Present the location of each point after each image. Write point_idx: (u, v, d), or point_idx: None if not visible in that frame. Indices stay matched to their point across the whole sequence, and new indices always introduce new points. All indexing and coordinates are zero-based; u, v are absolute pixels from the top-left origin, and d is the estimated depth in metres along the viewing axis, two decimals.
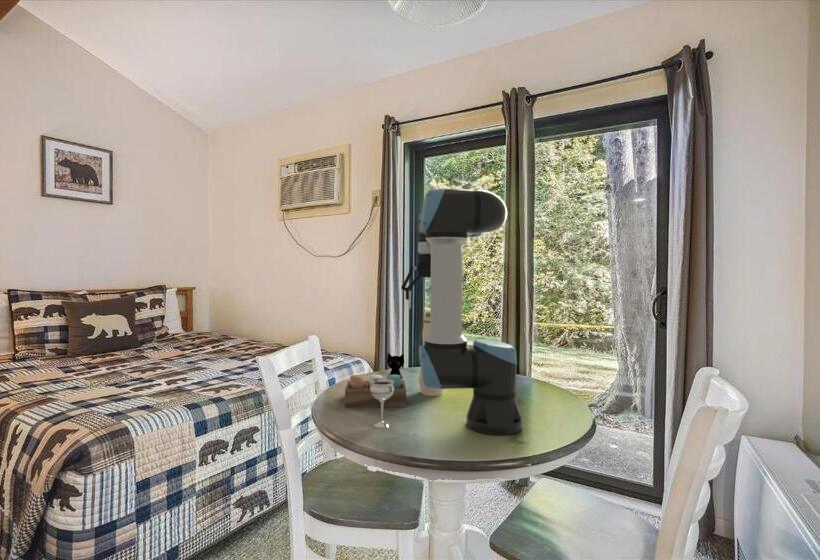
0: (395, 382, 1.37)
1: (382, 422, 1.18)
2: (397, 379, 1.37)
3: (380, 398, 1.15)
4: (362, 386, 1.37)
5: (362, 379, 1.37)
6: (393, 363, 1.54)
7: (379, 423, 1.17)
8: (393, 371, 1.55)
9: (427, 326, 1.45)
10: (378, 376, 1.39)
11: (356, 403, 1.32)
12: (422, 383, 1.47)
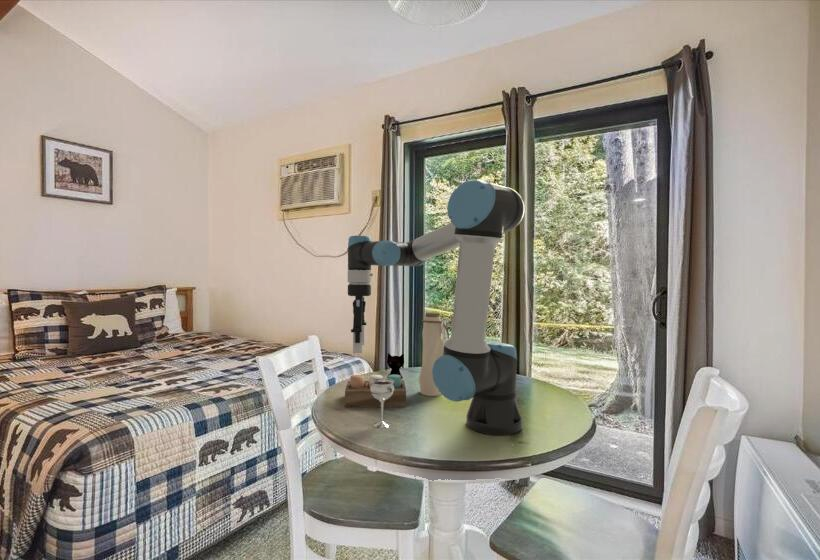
0: (395, 382, 1.37)
1: (382, 422, 1.18)
2: (397, 379, 1.37)
3: (380, 398, 1.15)
4: (362, 386, 1.37)
5: (362, 379, 1.37)
6: (393, 363, 1.54)
7: (379, 423, 1.17)
8: (393, 371, 1.55)
9: (427, 326, 1.45)
10: (378, 376, 1.39)
11: (356, 403, 1.32)
12: (422, 383, 1.47)
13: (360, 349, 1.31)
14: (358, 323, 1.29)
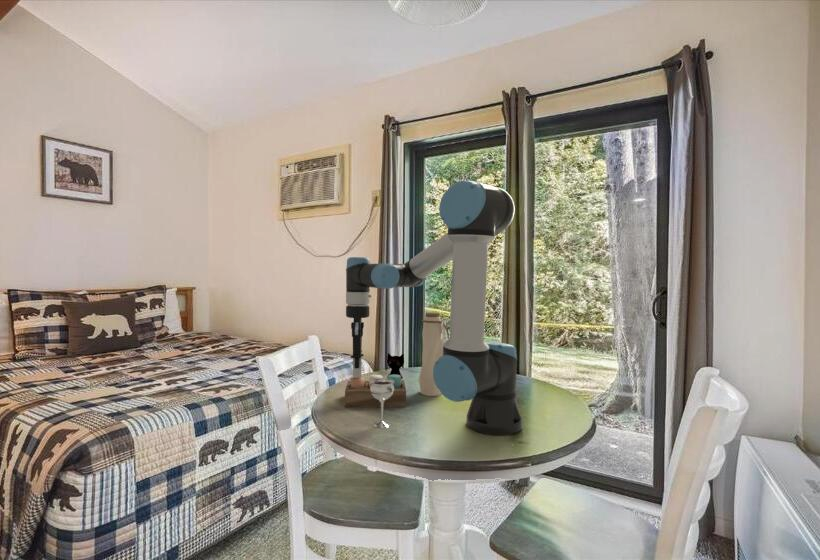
0: (395, 382, 1.37)
1: (382, 422, 1.18)
2: (397, 379, 1.37)
3: (380, 398, 1.15)
4: None
5: (362, 381, 1.37)
6: (393, 363, 1.54)
7: (379, 423, 1.17)
8: (393, 371, 1.55)
9: (427, 326, 1.45)
10: (378, 376, 1.39)
11: (356, 403, 1.32)
12: (422, 383, 1.47)
13: (359, 374, 1.38)
14: (357, 351, 1.34)
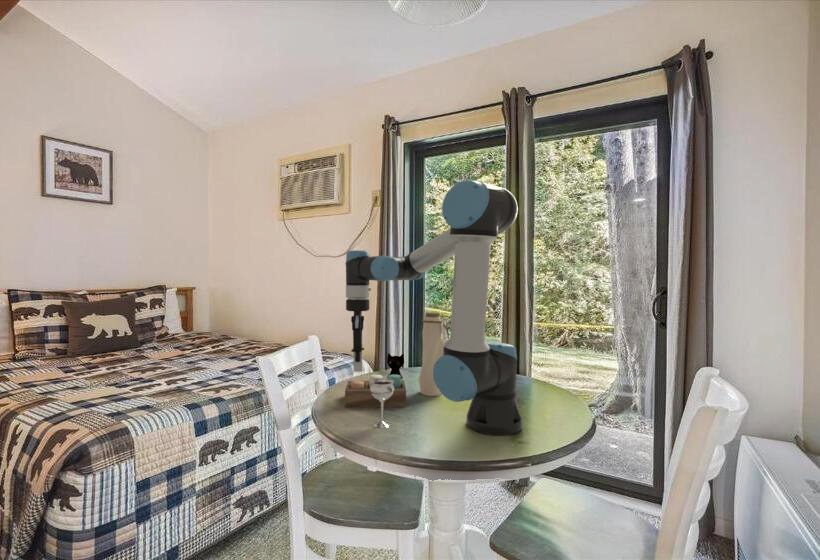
0: (395, 382, 1.37)
1: (382, 422, 1.18)
2: (397, 379, 1.37)
3: (380, 398, 1.15)
4: None
5: (362, 385, 1.37)
6: (393, 363, 1.54)
7: (379, 423, 1.17)
8: (393, 371, 1.55)
9: (427, 326, 1.45)
10: (378, 376, 1.39)
11: (356, 403, 1.32)
12: (422, 383, 1.47)
13: (360, 367, 1.37)
14: (358, 344, 1.34)
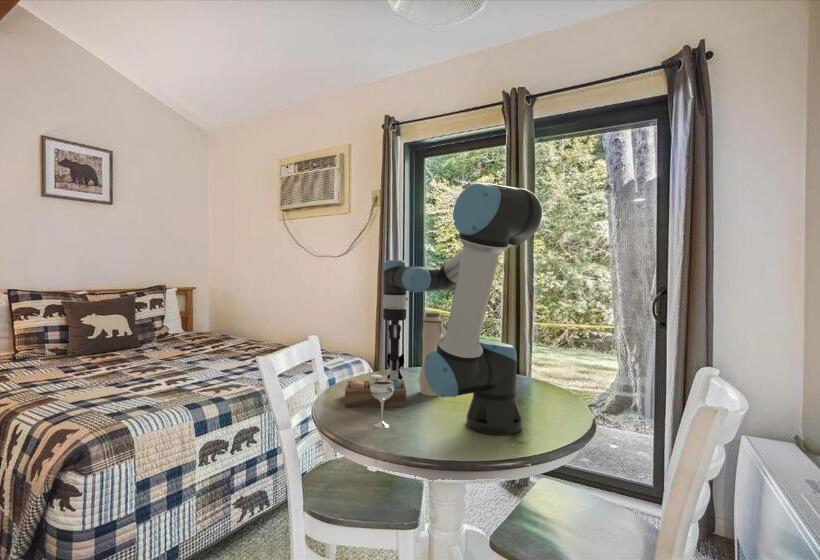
0: (395, 386, 1.37)
1: (382, 422, 1.18)
2: (397, 383, 1.37)
3: (380, 398, 1.15)
4: None
5: (362, 385, 1.37)
6: None
7: (379, 423, 1.17)
8: None
9: (427, 326, 1.45)
10: (378, 376, 1.39)
11: (356, 403, 1.32)
12: (422, 383, 1.47)
13: (396, 376, 1.39)
14: (395, 354, 1.35)
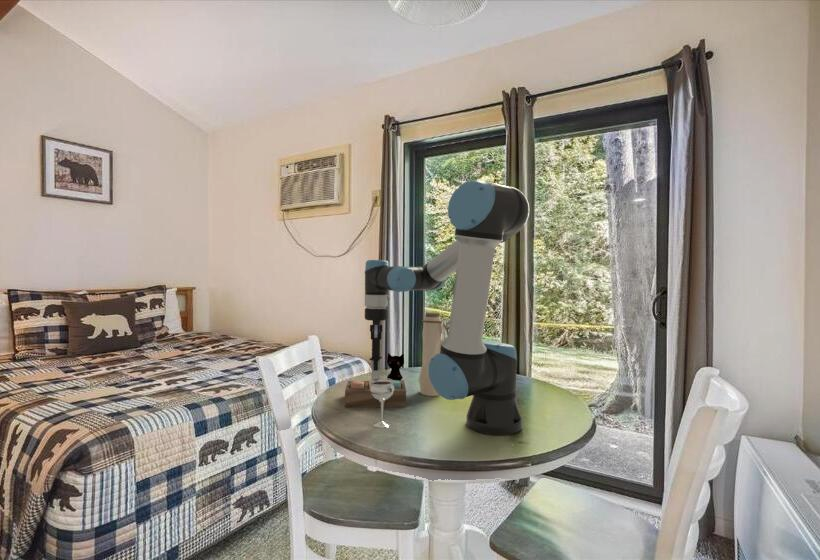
0: None
1: (382, 422, 1.18)
2: (397, 385, 1.37)
3: (380, 398, 1.15)
4: None
5: (362, 385, 1.37)
6: (393, 363, 1.54)
7: (379, 423, 1.17)
8: (393, 371, 1.55)
9: (427, 326, 1.45)
10: None
11: (356, 403, 1.32)
12: (422, 383, 1.47)
13: (378, 376, 1.38)
14: (376, 354, 1.35)
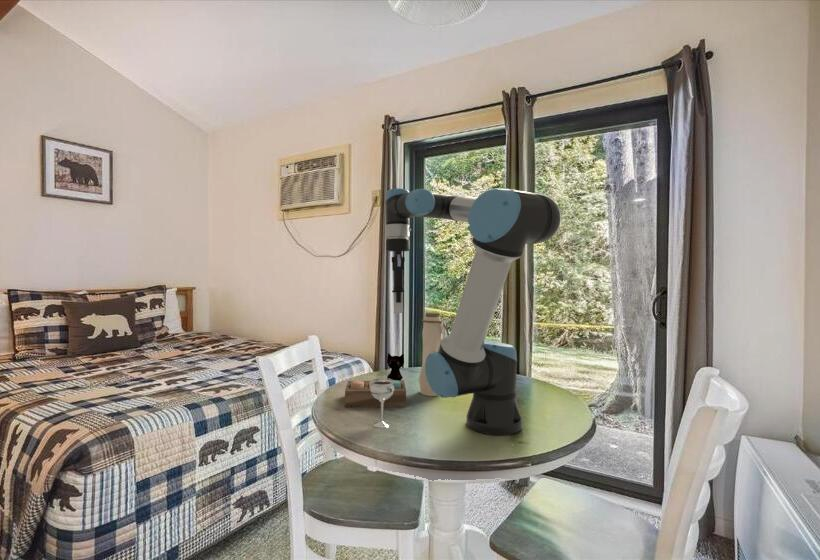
0: None
1: (382, 422, 1.18)
2: (397, 385, 1.37)
3: (380, 398, 1.15)
4: None
5: (362, 385, 1.37)
6: (393, 363, 1.54)
7: (379, 423, 1.17)
8: (393, 371, 1.55)
9: (427, 326, 1.45)
10: None
11: (356, 403, 1.32)
12: (422, 383, 1.47)
13: (401, 309, 1.35)
14: (400, 284, 1.31)
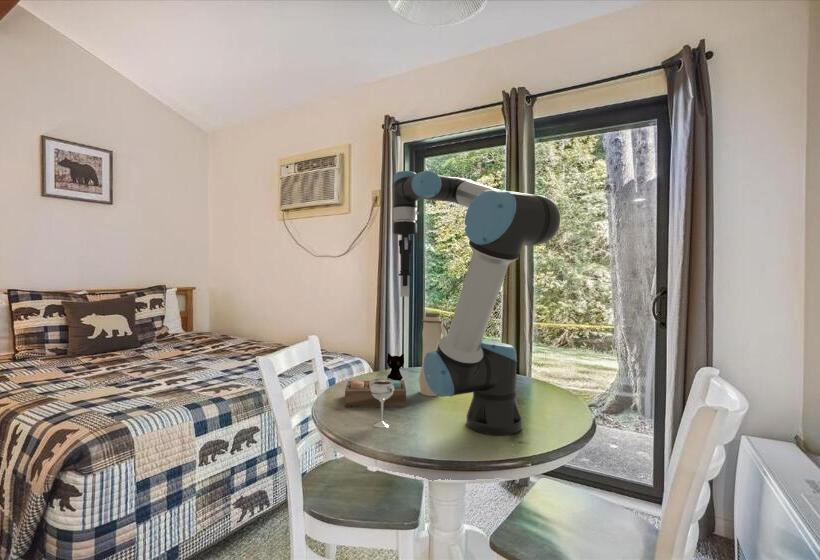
0: None
1: (382, 422, 1.18)
2: (397, 385, 1.37)
3: (380, 398, 1.15)
4: None
5: (362, 385, 1.37)
6: (393, 363, 1.54)
7: (379, 423, 1.17)
8: (393, 371, 1.55)
9: (427, 326, 1.45)
10: None
11: (356, 403, 1.32)
12: (422, 383, 1.47)
13: (407, 292, 1.35)
14: (406, 267, 1.31)
